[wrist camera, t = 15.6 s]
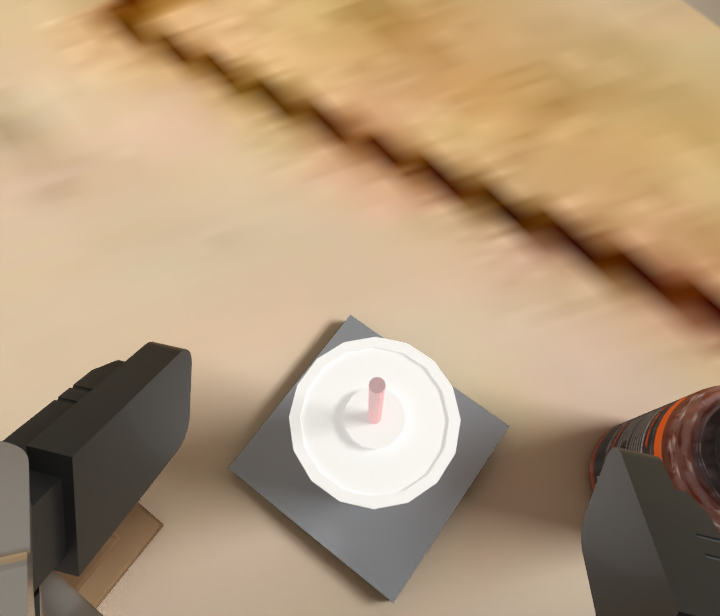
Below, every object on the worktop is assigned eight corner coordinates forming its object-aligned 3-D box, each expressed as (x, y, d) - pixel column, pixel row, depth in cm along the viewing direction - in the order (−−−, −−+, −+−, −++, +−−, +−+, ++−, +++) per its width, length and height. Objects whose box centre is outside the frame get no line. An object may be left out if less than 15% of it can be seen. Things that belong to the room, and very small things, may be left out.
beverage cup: (432, 391, 31) (481, 285, 18) (435, 518, 29) (494, 502, 16) (313, 389, 31) (274, 282, 18) (307, 515, 29) (258, 498, 16)
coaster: (505, 429, 31) (509, 426, 30) (392, 600, 28) (393, 602, 27) (350, 321, 33) (350, 315, 32) (232, 470, 31) (228, 468, 30)
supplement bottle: (588, 540, 29) (714, 542, 19) (581, 417, 31) (691, 357, 21) (713, 549, 29) (913, 557, 18) (698, 425, 31) (868, 368, 21)
